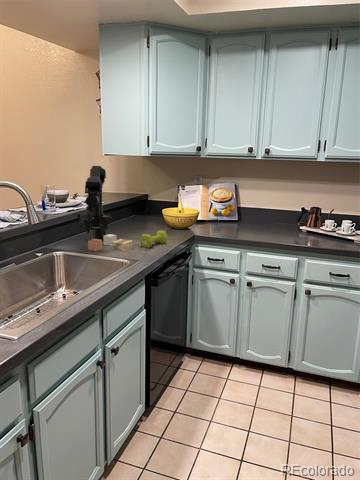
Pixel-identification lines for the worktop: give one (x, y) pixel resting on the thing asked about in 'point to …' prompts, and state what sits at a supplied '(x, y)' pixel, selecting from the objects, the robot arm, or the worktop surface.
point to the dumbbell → (153, 239)
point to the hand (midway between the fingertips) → (95, 234)
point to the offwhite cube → (109, 239)
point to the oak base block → (122, 244)
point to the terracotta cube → (94, 244)
